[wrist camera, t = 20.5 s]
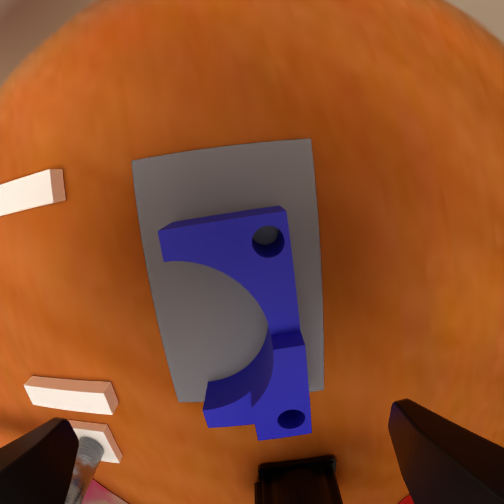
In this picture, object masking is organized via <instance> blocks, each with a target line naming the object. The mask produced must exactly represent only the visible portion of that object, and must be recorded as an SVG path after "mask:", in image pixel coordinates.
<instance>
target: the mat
mask: <svg viewBox="0 0 504 504" xmlns="http://www.w3.org/2000/svg"><path fill="white" fill-rule="evenodd" d="M131 163H132V172H133V181H134V189H135V197H136V205H137V212H138V219H139V226H140V232H141V238H142V245H143V250H144V256H145V262H146V267H147V273H148V278H149V283H150V288H151V293H152V298H153V303H154V307H155V312H156V316H157V321H158V325H159V330H160V334H161V338H162V342H163V346H164V350H165V354H166V358H167V362H168V366H169V370H170V373H171V377H172V381H173V384H174V388H175V391H176V395H177V398H178V402H204V400H205V395H206V389H207V384H208V382H209V381H216V380H220V379H224V378H227V377H229V376H232V375H234V374H236V373H237V372H239V371H241V370H242V369H244V368H245V367H246V366H247V365H248V364H250V363H251V362H252V361H253V359H254V358H255V357H256V356H257V354H258V353H259V351H260V350H261V348H262V346H263V344H264V341H265V338H266V334H267V329H268V322H267V319H266V317H265V314H264V312H263V311H262V309H261V307H260V305H259V304H258V303H257V301H256V300H255V298H254V297H253V296H252V295H251V294H250V293H249V291H248V290H246V289H245V288H244V287H243V286H242V285H241V284H240V283H238V282H237V281H236V280H234V279H233V278H231V277H230V276H228V275H226V274H225V273H223V272H221V271H219V270H216V269H214V268H211V267H209V266H206V265H202V264H198V263H193V262H185V261H169V262H164V261H163V256H162V251H161V246H160V241H159V236H158V230H160V229H162V228H163V227H165V226H167V225H168V224H170V223H172V222H177V221H183V220H189V219H195V218H201V217H207V216H213V215H219V214H226V213H232V212H239V211H245V210H252V209H259V208H266V207H273V206H281V207H282V208H284V209H285V210H286V211H287V219H288V227H289V234H290V242H291V250H292V259H293V267H294V276H295V284H296V293H297V302H298V312H299V321H300V331H301V334H302V337H303V340H304V343H305V348H306V360H307V372H308V384H309V392H314V391H320V390H324V332H323V295H322V272H321V252H320V236H319V221H318V208H317V196H316V184H315V173H314V163H313V154H312V144H311V139H295V140H282V141H270V142H259V143H249V144H239V145H230V146H222V147H214V148H207V149H199V150H192V151H186V152H179V153H173V154H167V155H161V156H155V157H149V158H144V159H139V160H133V161H131ZM278 233H279V229H278V228H276V227H274V226H263V227H261V228H259V229H258V230H257V231H256V232H255V233H254V235H253V239H254V240H255V241H256V242H257V243H259V244H262V245H268V244H271V243H273V242H274V241H275V240H276V238H277V237H278Z"/></svg>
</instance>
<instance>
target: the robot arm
mask: <svg viewBox="0 0 504 504" xmlns="http://www.w3.org/2000/svg"><path fill="white" fill-rule="evenodd" d="M388 428H389V433H390V436H391V439H392V443H393V446H394V449H395V453H396V456H397V460H398V463H399V467H400V470H401V473H402V476H403V479H404V481H405V483H406V486H407V488H408V490H409V493H410V495H411V497H412V500H413V502H414V504H504V448H503V447H501V446H499V445H497V444H495V443H493V442H491V441H489V440H487V439H485V438H483V437H481V436H479V435H477V434H475V433H473V432H471V431H469V430H467V429H465V428H463V427H461V426H459V425H457V424H455V423H453V422H451V421H449V420H447V419H445V418H444V417H442V416H440V415H438V414H436V413H434V412H432V411H430V410H428V409H426V408H425V407H423V406H421V405H419V404H417V403H415V402H413V401H412V400H410V399H402V400H398V401H395V402H394V403H393V404H392V407H391V412H390V418H389V423H388ZM78 448H79V440H78V437H77V435H76V433H75V432H74V430H73V428H72V426H71V424H70V422H69V421H68V420H67V419H64V418H58V417H57V418H53V419H51V420H50V421H48V422H46V423H44V424H43V425H41V426H39V427H37V428H36V429H34V430H32V431H30V432H29V433H27V434H25V435H23V436H21V437H20V438H18V439H16V440H14V441H12V442H11V443H9V444H7V445H5V446H3V447H2V448H0V504H65V501H66V498H67V495H68V491H69V488H70V484H71V480H72V475H73V471H74V466H75V461H76V457H77V452H78ZM335 471H336V458H335V456H325V457H319V458H313V459H306V460H299V461H291V462H283V463H273V464H263V465H260V466H259V467H258V473H259V479H260V481H259V482H256V483H255V484H254V486H255V504H343V502H342V498H341V494H340V491H339V487H338V483H337V479H336V476H335Z"/></svg>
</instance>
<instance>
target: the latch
mask: <svg viewBox="0 0 504 504" xmlns="http://www.w3.org/2000/svg"><path fill="white" fill-rule="evenodd" d="M103 454H104V449H103V447H102V446H101V445H100V444H99V443H98V442H97V441H95V440H93V439H91V438H88V437H81V438H80V439H79V448H78V452H77V457H76V461H75V466H74V471H73V475H72V480H71V484H70V488H69V491H68V495H67V498H66V501H65V504H82V501H83V499H84V497H85V494H86V492H87V490H88V487H89V485H90V483H91V481H92V478H93V476H94V474H95V472H96V470H97V467H98V465H99V463H100V461H101V459H102V456H103Z"/></svg>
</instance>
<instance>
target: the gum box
mask: <svg viewBox="0 0 504 504" xmlns="http://www.w3.org/2000/svg"><path fill="white" fill-rule="evenodd" d="M82 504H128V503H126V502H125V501H123V500H122V499H120V498H119V497H117V496H116V495H114V494H113V493H111V492H110V491H108V490H107V489H106V488H104V487H103V486H101V485H100V484H99V483H97V482H96V481H95V480H93V479H92V481H91V483H90V485H89V487H88V490H87V492H86V494H85V497H84V499H83V501H82Z"/></svg>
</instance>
